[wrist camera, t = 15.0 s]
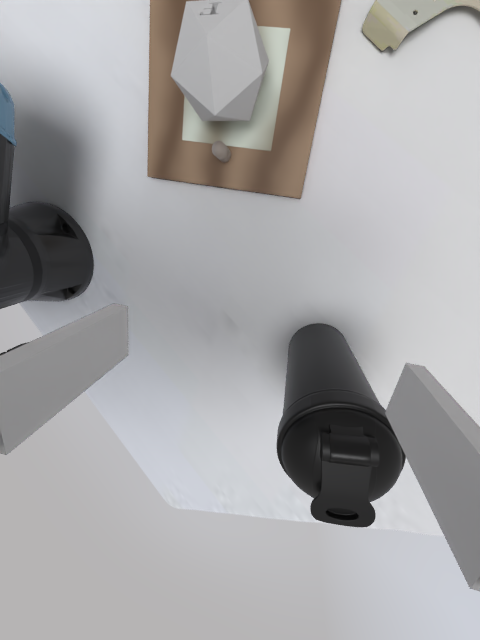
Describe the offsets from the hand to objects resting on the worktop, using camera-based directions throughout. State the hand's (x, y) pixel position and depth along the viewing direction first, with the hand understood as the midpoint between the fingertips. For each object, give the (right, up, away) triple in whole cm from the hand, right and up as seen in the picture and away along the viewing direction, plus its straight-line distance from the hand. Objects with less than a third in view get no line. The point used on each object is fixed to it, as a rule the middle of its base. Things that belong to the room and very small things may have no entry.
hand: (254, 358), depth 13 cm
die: (-1, +28, +18) cm, 33 cm away
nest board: (-1, +28, +19) cm, 34 cm away
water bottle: (+11, -3, +28) cm, 30 cm away
